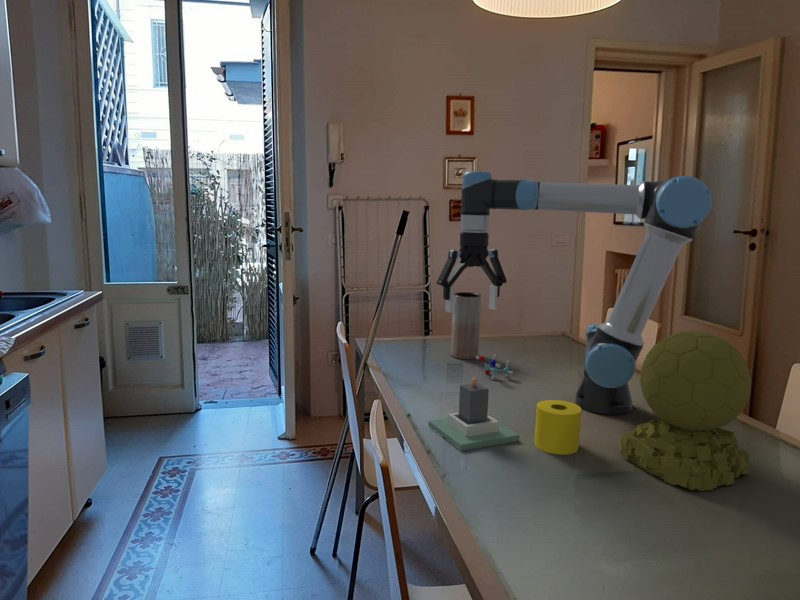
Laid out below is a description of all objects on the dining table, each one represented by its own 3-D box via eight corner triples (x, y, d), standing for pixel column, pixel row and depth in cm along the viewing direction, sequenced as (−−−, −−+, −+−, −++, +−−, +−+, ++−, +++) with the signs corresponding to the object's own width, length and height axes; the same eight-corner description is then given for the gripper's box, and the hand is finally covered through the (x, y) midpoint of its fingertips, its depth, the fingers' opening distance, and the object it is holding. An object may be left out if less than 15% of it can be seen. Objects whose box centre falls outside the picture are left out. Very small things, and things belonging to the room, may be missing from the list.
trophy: (674, 439, 146) (687, 317, 141) (763, 476, 127) (781, 337, 122) (606, 455, 136) (617, 325, 131) (692, 498, 117) (709, 348, 112)
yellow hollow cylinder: (525, 440, 144) (528, 402, 142) (560, 434, 147) (562, 397, 146) (552, 457, 134) (554, 417, 133) (587, 450, 138) (590, 411, 137)
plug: (475, 421, 150) (478, 374, 148) (486, 428, 146) (489, 380, 144) (458, 424, 148) (460, 377, 146) (468, 431, 143) (470, 382, 141)
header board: (482, 418, 157) (483, 403, 157) (518, 440, 143) (519, 424, 142) (428, 426, 151) (428, 411, 150) (460, 451, 137) (460, 434, 136)
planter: (459, 351, 226) (462, 291, 222) (483, 355, 220) (486, 294, 217) (445, 356, 218) (447, 294, 214) (469, 361, 212) (472, 297, 209)
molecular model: (515, 363, 198) (507, 341, 192) (516, 384, 191) (508, 362, 185) (481, 369, 201) (472, 348, 196) (481, 390, 194) (472, 369, 188)
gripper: (506, 230, 167) (502, 305, 171) (425, 230, 157) (423, 310, 161) (522, 232, 161) (517, 310, 164) (439, 232, 150) (436, 315, 154)
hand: (471, 310), depth 162 cm, fingers open, 13 cm apart
